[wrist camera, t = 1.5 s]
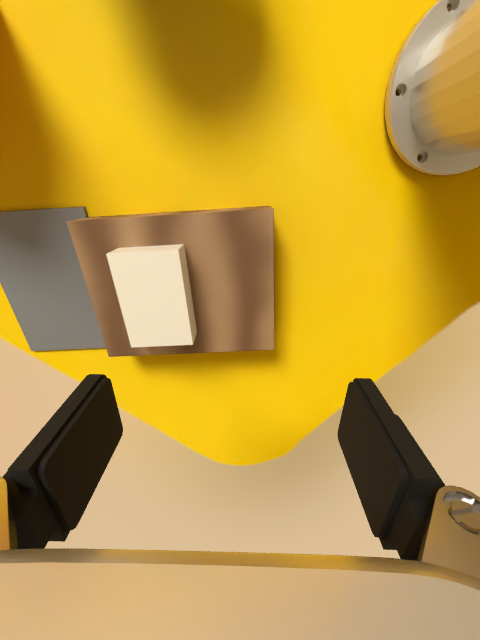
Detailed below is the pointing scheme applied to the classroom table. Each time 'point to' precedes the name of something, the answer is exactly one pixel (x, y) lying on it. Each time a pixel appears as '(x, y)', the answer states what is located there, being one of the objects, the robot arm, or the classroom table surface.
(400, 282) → the classroom table surface
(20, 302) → the mat
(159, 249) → the cream foam block
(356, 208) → the classroom table surface
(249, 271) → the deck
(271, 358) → the classroom table surface
